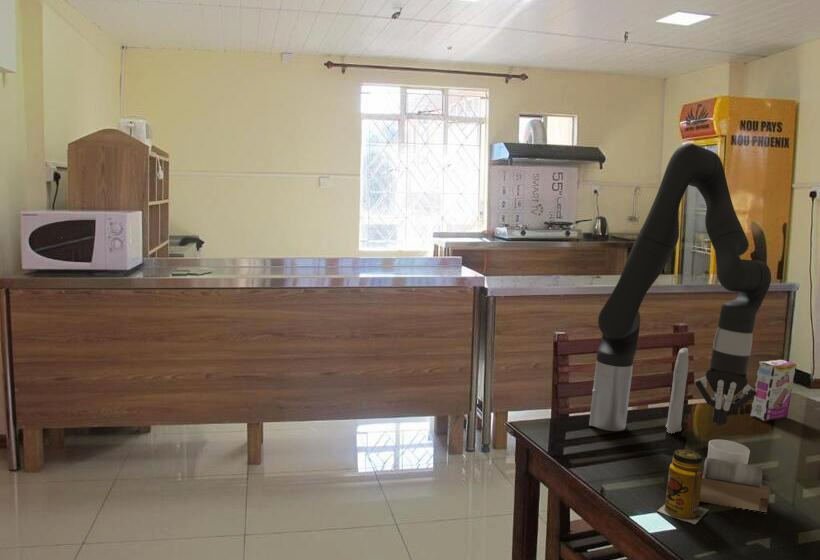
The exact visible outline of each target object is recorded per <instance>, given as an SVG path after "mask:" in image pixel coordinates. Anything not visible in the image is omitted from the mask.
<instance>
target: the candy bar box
mask: <svg viewBox="0 0 820 560" xmlns="http://www.w3.org/2000/svg"><path fill="white" fill-rule="evenodd" d="M757 367H758V368H757V372H756V373H757V374H756V378H755V384H754V390H755V391H756V395H755V396H754V397H753V398H752V403H751V409H750V414H749V415H750V417H752V418H753V419H757V420H759V421H763V422H768V421H774V420H779V419H784V418H785V419H786V418H788V414H789V408H790V402H791V397H792V390H793V386H794V379H795V373H796V367H797V363H794V362H792V361H787V360H784V359H776V360H775V359H774V360H767V361H765V360H763V361H759V362H758V366H757Z"/></svg>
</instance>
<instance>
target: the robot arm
mask: <svg viewBox="0 0 820 560" xmlns="http://www.w3.org/2000/svg"><path fill="white" fill-rule="evenodd" d="M688 186H690V187H692V188H696V189H697V190H698V192H699V193H700V194H701V196H702V198H703V200H704V202H705V205H706V209H705V210H706V212H705V217H704V218H705V222H704V224H705V229H706V233H707V235H708V237H709V241H710V242H711V245H712V247H713V250H714V254H715V256H714V257H715V264H716V278H717V280H718V282H719V284H720V285H721V286H722V288H723V289H725V290H726V291H729V292H733V293H734V292H735V293H737V292H738V295H737V297H736V298H734V299H733V300H729V301H726V302H724V303H723V304H722V305H721V308H720V312H719V318H718V323H717V329H716V333H715V334H714V340H713V341H712V352H711V357H710V363H709V368H708V370H707V371H706V372H705V376H703V377H700V378H698V377H697V378H695V379H694V383H695V385H696V387H697V389H698V391H699V392H700V394H701V395H702V397H703V399H704V400H705V402H706V404H707V405H708V406H712V407H713V410H712V415H711V420H712V423H714V426H717V427H718V426H719V427H723V425H726V424H727V420H728V414H729V411H731V410H735V411H737V410H739V409H740V408H741V407H742V406H744V405H745V404H747V403H748V402H749V401H750V400H752V399H753V397H754V396H755V395H756V391H755V387H754V388H753V387H752V386H751V385H749V381H748V377H747V374H748V368H749V363H750V358H751V357H750V356H751V354H752V353H751V352H752V347H753V346H752V345H753V333H754V329H755V322H756V316H757V313H758V311H759V309H760V308H761V305H762V303H763V302H764V299H765V297H766V295H767V294H768V291H769V290H770V289H769V288H770V286H771V283H772V272H771V269H770V267H769V265H768V264H767V263H765V262H764V261H762V260H757V259H745V258H744V259H742V258H740V256H742V255H744V254H745V253H746V252H747V251H748V250H749V246H750V245H749V244H750V243H749V240H748V237H747V235H746V233H745V231H744V227H742V224H741V222H740V220H739V218H738V216H737V213H736V210H735V208H734V205H733V202H732V198H731V193H730V191H729V190H730V189H729V186H728V182H727V178H726V173H725V168H724V165H723V162H722V160H721V158H720V156H719V155H718V153H716V152H714V151H712V150H711V149H708V148H705V147H702V146H700V145H697V144H695V143H691V142H690V143H689V142H687V143H684V144H681V145H680V146H678V148H676V150H675V151H674V152H673V154H672V155H671V157H670V158H669V161H668V164H667V165H666V168H665V171H664V173H663V177H662V180H661V183H660V184H659V187H658V191H657V193H656V195H655V198H654V200H653V202H652V205H651V207H650V210H649V212H648V215H646V216H647V217H646V219H645V221H644V223H643V225H642V227H641V228H640V230H639V232H638V235H637V237H636V238H635V241H634V243H633V245H632V247H631V250H630V252H629V255H628V257H627V259H626V262H625V264H624V266H623V270H622V272H621V274H620V277H619V279H618V281H617V284H616V285H615V287H614V289H613V291H612V292H611V294H610V296H609V297H608V299H607V300H606V302H605V303H604V305H603V307H602V308H601V310H600V311H599V314H598V318H597V319H598V320H597V323H598V328H599V330H600V332H601V334H602V336H601V341H600V344H599V346H598V349H597V353H596V357H595V358H596V361H595V367H594V368H595V369H594V379H593V387H592V395H591V396H592V398H591V405H590V413H589V421H588V422H589V423H588V426H590V427H595V428H597V429H599V430H603V431H611V432H621V431H624V430H625V429H626V426H627V418H628V410H629V409H628V408H629V400H630V392H631V384H632V375H633V368H634V367H633V366H634V360H635V356H636V353H637V348H638V343H639V336H640V326H641V314H640V308H641V305H642V302H643V300H644V299H645V296H646V294H648V293H647V292H649V290H650V289H651V287H652V286H653V284H654V283H655V282H656V280H657V279H658V278H659V276H660V275H661V273H662V272H663V271H664V270H665V267H666V266H667V264H668V262H669V260H670V259H671V256H672V255H673V253H674V250H675V249H676V247H677V244H678V241H679V237H680V220H679V219H680V217H679V215H680V207H681V206H680V205H681V203H682V202H681V201H682V200H683V198H684V195H685V192H686V190H687V188H688ZM707 382H708V384H709V385H710V387H711V390H712V391H713V392H714V398H712V397H711V395H710V394H709V392H708V391H707V389H706V388H707V387H708V384H707ZM741 391H742V394H741V395H740V396H739V395H738V397H737V398H735V399H734V400H733V398H734V396H736V395H737V394H738V393H740V392H741ZM723 395H724V397H723Z"/></svg>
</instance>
